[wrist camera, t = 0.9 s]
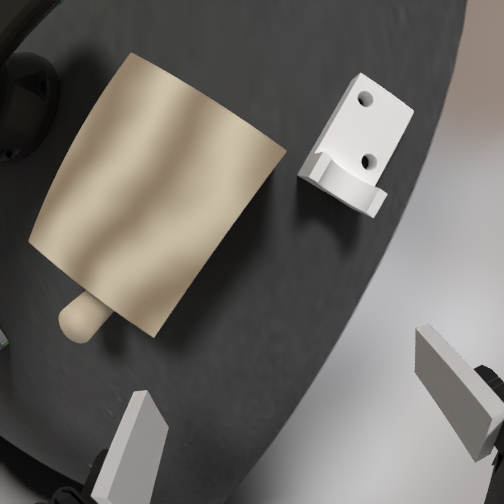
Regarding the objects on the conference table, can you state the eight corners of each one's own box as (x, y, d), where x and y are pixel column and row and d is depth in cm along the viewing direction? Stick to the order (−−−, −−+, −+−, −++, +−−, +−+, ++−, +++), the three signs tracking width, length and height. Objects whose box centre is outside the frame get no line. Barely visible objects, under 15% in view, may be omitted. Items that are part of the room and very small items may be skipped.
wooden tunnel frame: (88, 218, 35) (28, 241, 23) (169, 87, 31) (131, 52, 19) (182, 286, 37) (153, 337, 25) (274, 157, 33) (286, 151, 22)
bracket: (350, 207, 35) (373, 218, 28) (296, 175, 34) (308, 176, 27) (400, 115, 32) (432, 105, 25) (351, 80, 31) (374, 61, 24)
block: (84, 285, 37) (43, 318, 27) (175, 128, 32) (147, 114, 23) (127, 317, 38) (96, 358, 28) (227, 163, 34) (218, 161, 24)
